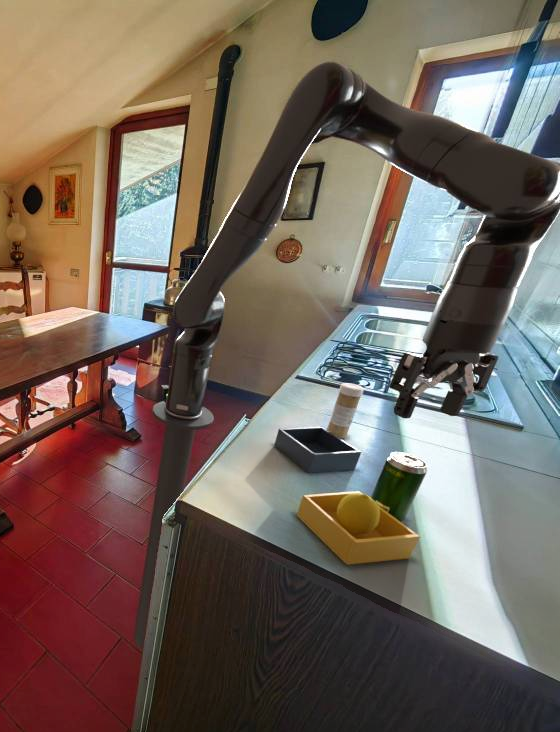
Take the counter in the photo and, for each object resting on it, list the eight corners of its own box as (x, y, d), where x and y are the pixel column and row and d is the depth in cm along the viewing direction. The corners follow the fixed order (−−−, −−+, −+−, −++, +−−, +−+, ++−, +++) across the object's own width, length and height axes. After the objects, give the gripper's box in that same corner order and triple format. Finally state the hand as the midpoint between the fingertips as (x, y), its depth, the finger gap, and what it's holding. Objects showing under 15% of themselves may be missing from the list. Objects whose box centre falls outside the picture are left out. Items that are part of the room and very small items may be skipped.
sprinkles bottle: (334, 428, 102) (350, 381, 97) (351, 437, 98) (369, 388, 93) (320, 431, 100) (336, 383, 95) (337, 440, 96) (355, 390, 91)
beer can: (397, 529, 68) (424, 472, 64) (361, 511, 72) (384, 457, 68) (407, 517, 71) (433, 462, 66) (372, 501, 75) (394, 448, 71)
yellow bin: (296, 515, 71) (302, 495, 69) (350, 510, 73) (358, 490, 71) (346, 564, 61) (356, 542, 59) (409, 558, 62) (420, 536, 61)
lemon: (345, 518, 70) (360, 481, 67) (378, 540, 65) (395, 502, 62) (322, 524, 68) (336, 487, 65) (354, 548, 63) (370, 509, 60)
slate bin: (273, 445, 94) (278, 428, 92) (316, 443, 95) (321, 426, 93) (308, 473, 83) (314, 454, 82) (354, 469, 85) (361, 451, 83)
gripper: (481, 310, 61) (439, 403, 67) (399, 311, 59) (364, 406, 65) (542, 321, 54) (489, 424, 60) (452, 322, 52) (407, 428, 59)
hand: (424, 415), depth 63 cm, fingers open, 8 cm apart
